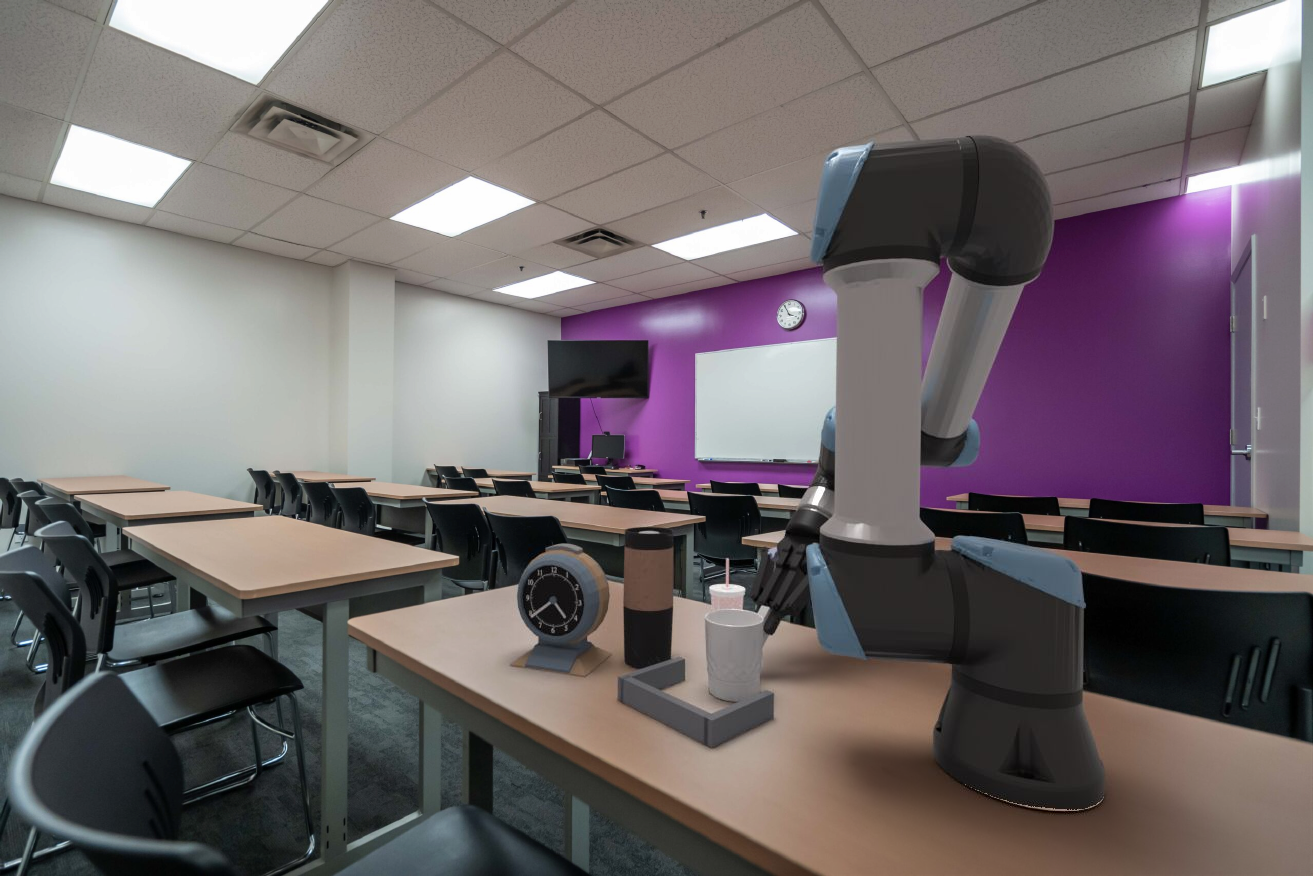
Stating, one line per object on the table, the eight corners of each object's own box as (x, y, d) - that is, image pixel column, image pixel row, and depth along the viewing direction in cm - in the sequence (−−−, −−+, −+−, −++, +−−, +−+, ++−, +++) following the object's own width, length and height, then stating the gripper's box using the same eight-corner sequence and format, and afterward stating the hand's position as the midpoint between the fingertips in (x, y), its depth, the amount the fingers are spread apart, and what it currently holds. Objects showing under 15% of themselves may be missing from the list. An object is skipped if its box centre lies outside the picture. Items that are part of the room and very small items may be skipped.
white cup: (693, 685, 82) (694, 612, 82) (742, 676, 85) (742, 606, 85) (724, 709, 75) (724, 629, 75) (775, 697, 78) (775, 621, 78)
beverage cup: (751, 640, 101) (752, 558, 102) (732, 649, 97) (733, 563, 97) (721, 633, 105) (722, 553, 105) (701, 641, 101) (702, 558, 101)
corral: (679, 677, 85) (679, 656, 85) (773, 717, 73) (774, 692, 73) (617, 699, 77) (617, 676, 77) (711, 748, 65) (712, 720, 65)
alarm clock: (504, 665, 89) (506, 546, 89) (537, 644, 98) (539, 537, 98) (591, 678, 84) (593, 552, 84) (618, 655, 93) (619, 542, 94)
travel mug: (616, 655, 93) (618, 527, 94) (661, 650, 96) (663, 526, 96) (631, 673, 86) (633, 534, 86) (680, 666, 89) (682, 532, 89)
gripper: (862, 542, 92) (799, 678, 81) (792, 532, 102) (727, 652, 91) (844, 510, 89) (775, 647, 78) (773, 503, 99) (703, 624, 87)
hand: (749, 650), depth 84 cm, fingers closed
